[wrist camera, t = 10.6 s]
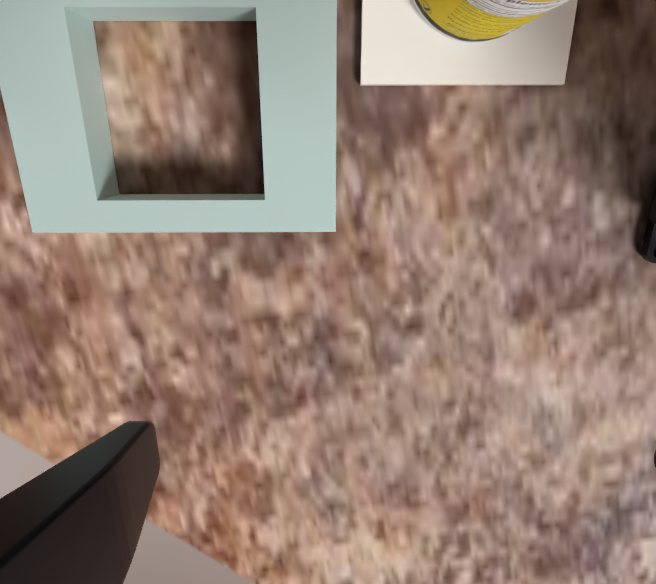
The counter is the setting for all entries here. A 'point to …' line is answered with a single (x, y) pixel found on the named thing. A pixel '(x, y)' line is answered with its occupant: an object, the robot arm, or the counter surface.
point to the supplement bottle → (481, 16)
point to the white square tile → (460, 50)
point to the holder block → (94, 135)
